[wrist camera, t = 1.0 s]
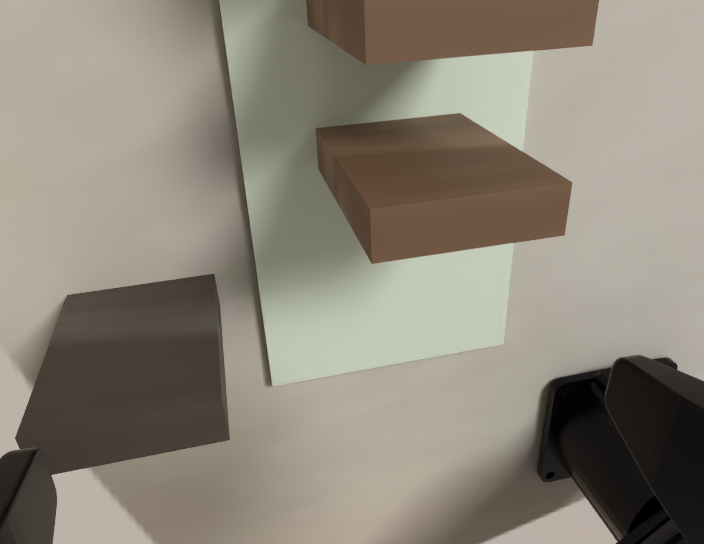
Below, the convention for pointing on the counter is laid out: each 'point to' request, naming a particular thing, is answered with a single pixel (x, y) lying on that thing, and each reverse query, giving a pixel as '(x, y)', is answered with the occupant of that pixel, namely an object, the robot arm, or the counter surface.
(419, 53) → the domino
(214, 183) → the counter surface
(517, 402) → the counter surface
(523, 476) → the counter surface
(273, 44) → the runner mat
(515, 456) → the counter surface
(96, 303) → the tile
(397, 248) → the brown wooden block
